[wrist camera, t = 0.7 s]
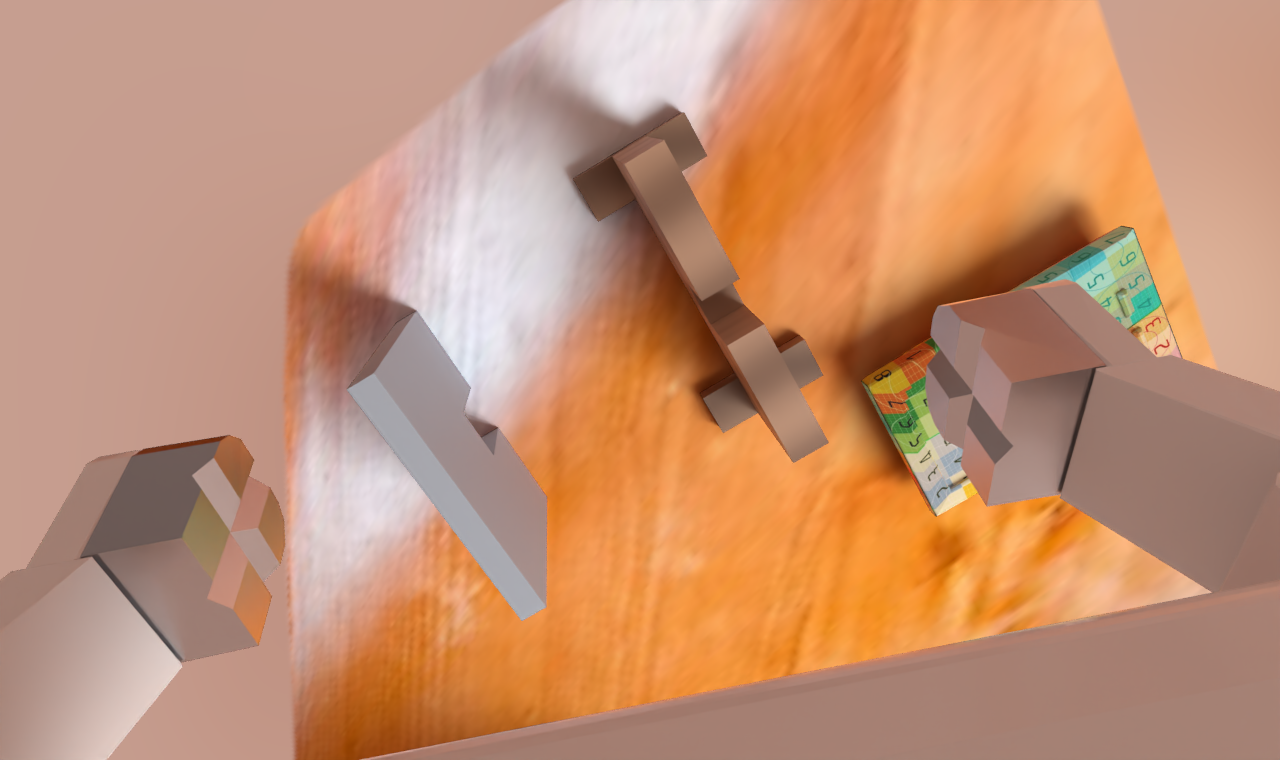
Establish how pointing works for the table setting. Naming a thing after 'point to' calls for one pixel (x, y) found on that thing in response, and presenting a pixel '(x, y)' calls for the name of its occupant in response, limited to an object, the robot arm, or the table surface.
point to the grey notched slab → (458, 460)
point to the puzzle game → (1099, 268)
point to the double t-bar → (710, 285)
